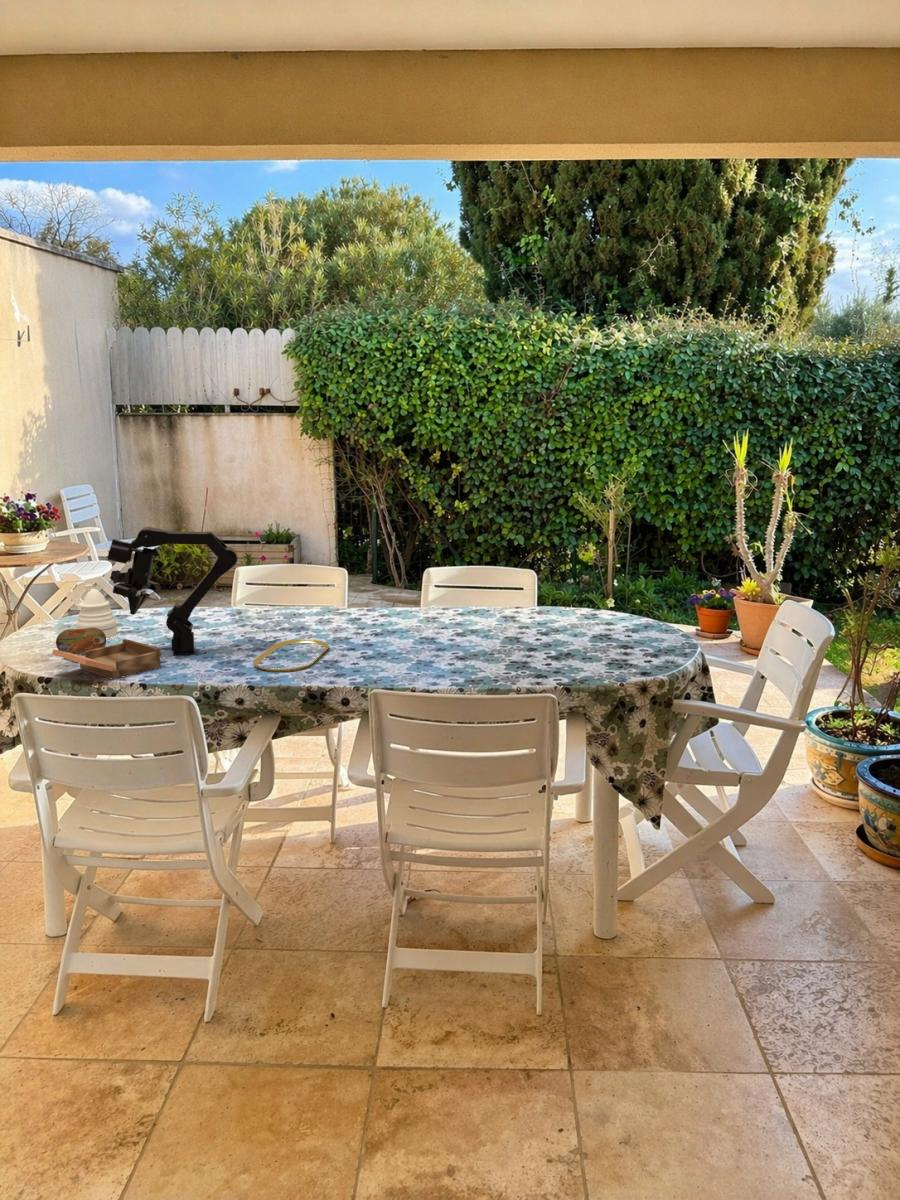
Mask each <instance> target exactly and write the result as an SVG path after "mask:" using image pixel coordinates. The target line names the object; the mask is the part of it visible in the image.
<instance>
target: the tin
mask: <svg viewBox="0 0 900 1200" xmlns="http://www.w3.org/2000/svg"><path fill="white" fill-rule="evenodd" d="M106 644H107V640H106V635H105V634H104V632H103V631H102V630H100V629H98V628H94V627H92V628H79V629H77V628H68V629H65V630H63V631H61V632H60V633H59V634H58V635H57V637H56V639H55V646H56V648H57V649H56V650H59V651H63V652H67V653H72V654H82V655H85V654H84V653H85V651H88V650H93V649H97V648H102V647H106V646H107V645H106Z"/></svg>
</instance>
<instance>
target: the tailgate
mask: <svg viewBox="0 0 900 1200" xmlns="http://www.w3.org/2000/svg"><path fill="white" fill-rule="evenodd" d="M51 654H52V655H53V656H57V657H60V658H63V660H65V661H69V662H70V663H74V664H80V663H81V664H84V665H88V666H92V667H96V668H101V669H105V670H109V671H112V669H113V666H112V665H108V664H105V663H102V662H99V661H96V660H93V659H90V658H86V657H85V656H83V655H76V654H72V653H67V652H63V651H59V650H58V649H54V648H53V649H52V652H51Z"/></svg>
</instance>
